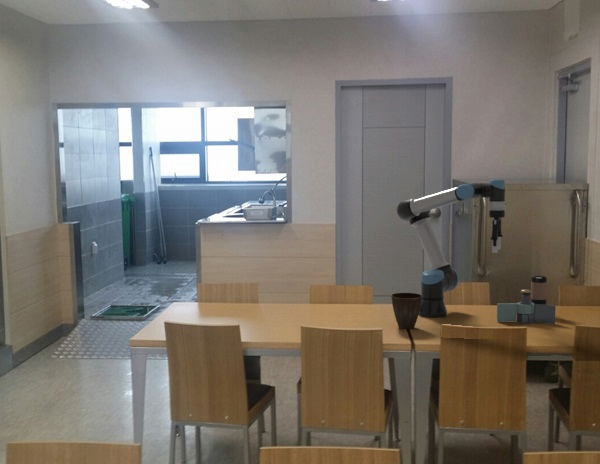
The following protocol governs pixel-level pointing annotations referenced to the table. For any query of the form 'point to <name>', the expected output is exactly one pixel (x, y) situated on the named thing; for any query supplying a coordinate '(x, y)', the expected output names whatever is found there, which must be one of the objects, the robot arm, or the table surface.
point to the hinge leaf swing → (513, 311)
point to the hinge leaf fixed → (539, 315)
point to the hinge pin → (526, 296)
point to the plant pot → (406, 309)
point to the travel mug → (538, 290)
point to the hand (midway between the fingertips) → (496, 251)
